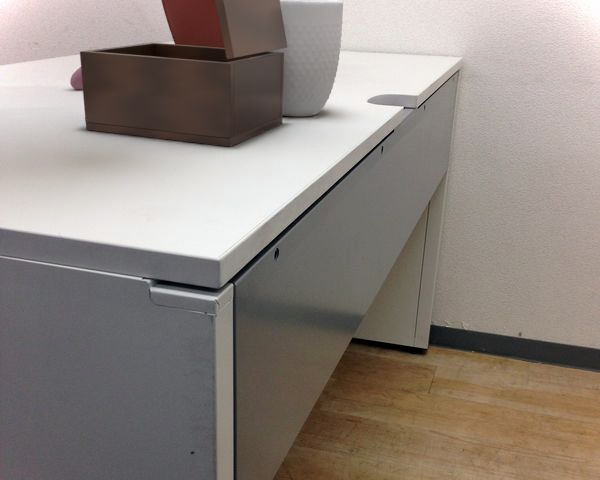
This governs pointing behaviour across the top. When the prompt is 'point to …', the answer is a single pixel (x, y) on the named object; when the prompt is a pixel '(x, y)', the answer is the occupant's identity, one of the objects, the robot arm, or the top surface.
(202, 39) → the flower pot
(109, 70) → the chest
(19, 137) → the top surface
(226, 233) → the top surface
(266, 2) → the lid
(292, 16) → the mug
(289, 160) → the top surface
